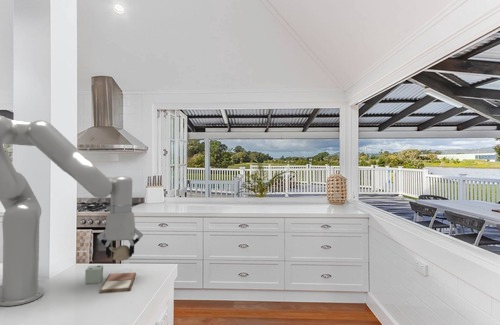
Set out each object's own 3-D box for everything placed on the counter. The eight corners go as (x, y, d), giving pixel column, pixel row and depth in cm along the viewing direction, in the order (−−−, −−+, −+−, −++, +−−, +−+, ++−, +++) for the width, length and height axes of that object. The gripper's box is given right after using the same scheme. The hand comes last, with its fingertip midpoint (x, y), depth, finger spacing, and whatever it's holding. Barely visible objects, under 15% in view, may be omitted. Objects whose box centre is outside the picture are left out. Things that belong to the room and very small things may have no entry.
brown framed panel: (99, 293, 106) (99, 289, 106) (109, 276, 121) (109, 273, 121) (130, 291, 108) (130, 287, 108) (135, 275, 124) (135, 272, 124)
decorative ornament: (132, 259, 118) (133, 245, 118) (109, 262, 113) (110, 248, 113) (129, 256, 121) (130, 242, 121) (106, 259, 116) (107, 245, 116)
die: (85, 283, 114) (85, 270, 114) (88, 278, 119) (89, 265, 119) (99, 282, 115) (100, 269, 115) (102, 278, 120) (103, 264, 120)
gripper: (93, 211, 111) (92, 260, 111) (144, 210, 115) (143, 258, 115) (98, 208, 119) (97, 254, 119) (146, 207, 123) (145, 252, 122)
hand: (120, 255), depth 117 cm, fingers closed on decorative ornament, 7 cm apart
